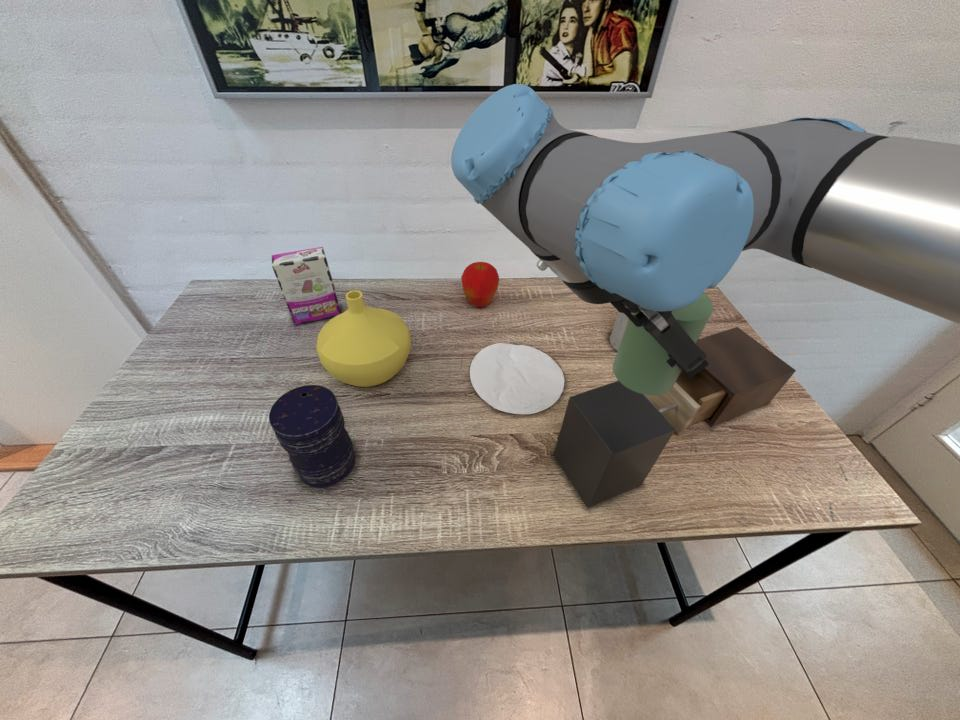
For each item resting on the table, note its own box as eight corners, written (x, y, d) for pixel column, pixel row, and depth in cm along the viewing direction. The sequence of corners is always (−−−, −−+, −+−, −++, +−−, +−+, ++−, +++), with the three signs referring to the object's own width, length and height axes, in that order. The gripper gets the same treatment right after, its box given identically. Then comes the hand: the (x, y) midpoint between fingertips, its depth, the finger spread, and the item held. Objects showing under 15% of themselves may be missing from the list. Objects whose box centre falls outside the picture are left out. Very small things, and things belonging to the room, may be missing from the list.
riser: (641, 485, 70) (675, 429, 58) (587, 508, 66) (613, 454, 55) (603, 435, 77) (627, 377, 66) (553, 454, 73) (569, 396, 62)
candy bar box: (339, 304, 103) (323, 245, 92) (342, 316, 100) (326, 256, 88) (292, 313, 100) (270, 253, 89) (294, 326, 97) (271, 265, 85)
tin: (687, 385, 53) (729, 310, 44) (638, 402, 50) (673, 328, 42) (646, 346, 58) (677, 273, 50) (600, 361, 56) (624, 287, 47)
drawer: (656, 444, 74) (672, 417, 69) (614, 395, 83) (625, 368, 77) (736, 412, 80) (756, 385, 75) (689, 369, 89) (704, 342, 83)
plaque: (453, 361, 89) (453, 357, 88) (528, 335, 97) (529, 330, 96) (500, 431, 78) (501, 427, 76) (582, 395, 85) (583, 390, 84)
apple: (495, 292, 109) (498, 252, 100) (499, 313, 102) (502, 272, 94) (460, 293, 108) (460, 252, 100) (462, 314, 102) (462, 273, 93)
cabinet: (711, 427, 79) (735, 394, 72) (662, 378, 88) (679, 345, 81) (769, 403, 84) (796, 370, 77) (717, 359, 92) (737, 326, 86)
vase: (415, 339, 95) (407, 267, 81) (411, 399, 82) (401, 326, 68) (334, 341, 93) (313, 268, 80) (318, 403, 80) (288, 328, 67)
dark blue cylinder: (357, 482, 68) (338, 429, 58) (296, 495, 66) (264, 443, 56) (354, 434, 75) (337, 379, 65) (298, 445, 73) (271, 390, 63)
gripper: (518, 229, 46) (608, 318, 61) (621, 351, 31) (705, 426, 47) (569, 176, 43) (649, 282, 58) (705, 282, 29) (765, 385, 44)
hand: (674, 346), depth 52 cm, fingers closed on tin, 8 cm apart
